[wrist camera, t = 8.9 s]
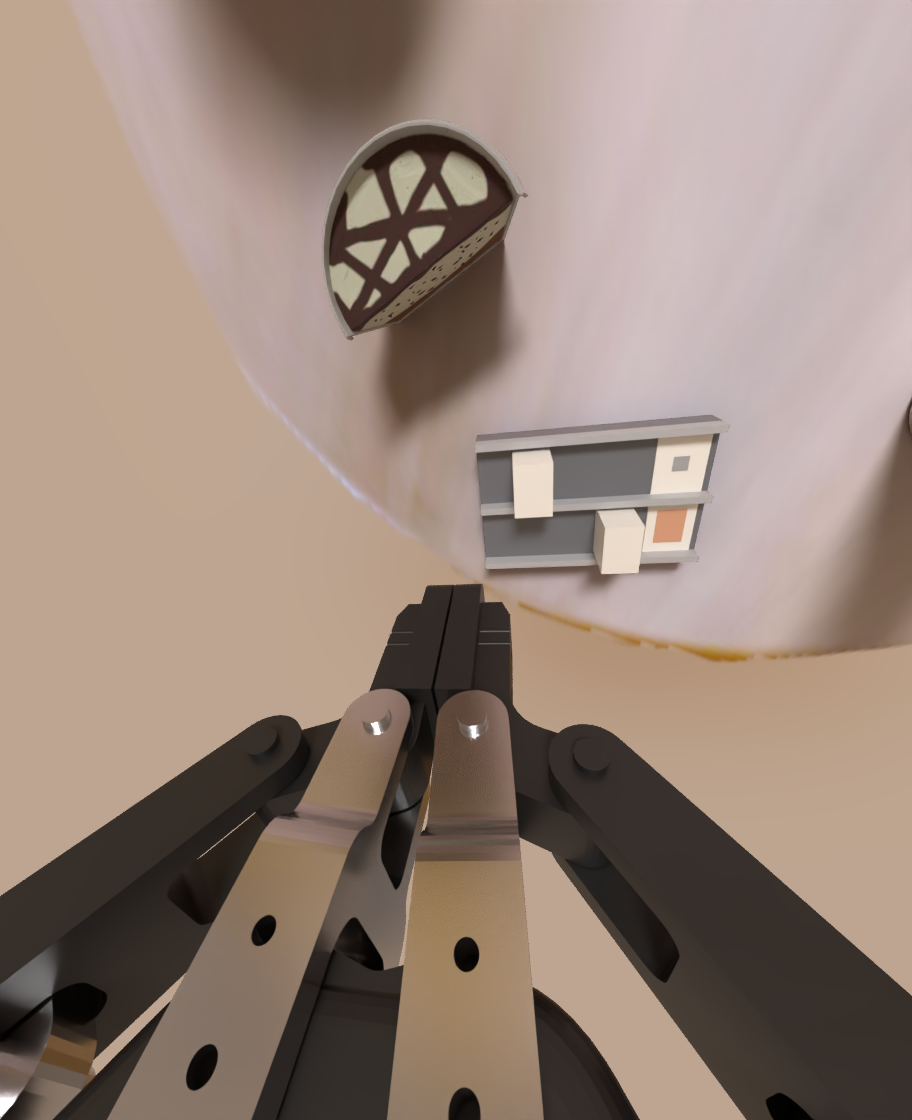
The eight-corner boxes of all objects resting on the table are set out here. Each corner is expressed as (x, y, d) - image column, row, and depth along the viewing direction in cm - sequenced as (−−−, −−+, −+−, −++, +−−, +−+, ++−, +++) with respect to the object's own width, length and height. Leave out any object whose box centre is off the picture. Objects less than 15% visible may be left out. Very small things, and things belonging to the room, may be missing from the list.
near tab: (548, 447, 33) (553, 462, 30) (548, 496, 35) (552, 516, 32) (512, 450, 33) (512, 465, 30) (514, 498, 36) (514, 518, 32)
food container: (477, 118, 25) (461, 18, 16) (523, 224, 27) (529, 184, 19) (334, 253, 29) (264, 230, 21) (384, 334, 32) (339, 342, 23)
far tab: (631, 505, 35) (645, 526, 31) (626, 549, 37) (638, 572, 34) (596, 507, 35) (605, 528, 32) (592, 550, 37) (601, 574, 34)
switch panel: (711, 414, 32) (729, 424, 29) (684, 544, 38) (697, 561, 36) (477, 435, 35) (474, 445, 32) (487, 552, 41) (485, 569, 39)
